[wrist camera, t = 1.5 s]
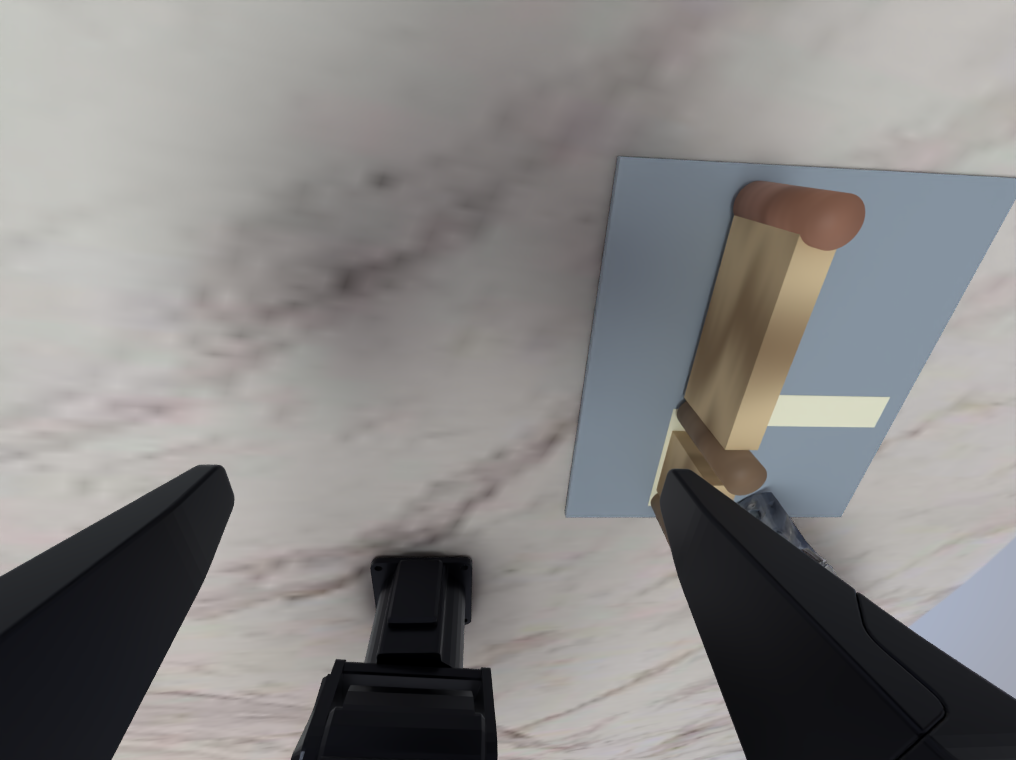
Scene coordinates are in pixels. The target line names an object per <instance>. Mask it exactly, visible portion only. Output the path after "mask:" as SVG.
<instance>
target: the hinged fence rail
mask: <svg viewBox="0 0 1016 760" xmlns="http://www.w3.org/2000/svg"><path fill="white" fill-rule="evenodd" d="M733 213H734V217H733V221H732V225H731V228H730V232H729V235H728V239H727V243H726V246H725V250H724V254H723V257H722V261H721V265H720V268H719V272H718V276H717V279H716V283H715V286H714V290H713V294H712V297H711V301H710V305H709V308H708V312H707V316H706V319H705V323H704V326H703V330H702V334H701V337H700V341H699V345H698V348H697V352H696V356H695V359H694V363H693V367H692V370H691V374H690V377H689V381H688V385H687V388H686V392H685V396H684V398H685V400H686V402H684V403H683V404H682V405H681V406H680V407H679V409H678V411H677V419H678V421H679V422H680V424H681V425H682V427H683V428H684V429H685V431H686V432H687V434H688V435H689V437H690V438H691V439H692V441H693V442H694V444H695V445H696V447H697V448H698V449H699V451H700V452H701V454H702V455H703V457H704V458H705V460H706V461H707V462H708V464H709V465H710V467H711V468H712V470H713V471H714V472H715V474H716V475H717V477H718V478H719V480H720V481H721V482H722V484H723V485H724V487H725V488H726V490H727V491H728V492H729V493H731V494H733V495H739V496H741V495H747V494H750V493H753V492H755V491H756V490H758V489H759V488H760V487H761V486H762V485H763V484H764V483H765V481H766V478H767V471H766V469H765V468H764V467H763V465H762V464H761V463H760V462H759V461H758V460H757V458H756V457H755V456H754V455H753V454H752V453H751V451H750V450H758V449H759V446H760V443H761V441H762V438H763V436H764V433H765V431H766V428H767V426H768V423H769V421H770V418H771V415H772V413H773V410H774V408H775V405H776V403H777V400H778V398H779V395H780V392H781V390H782V387H783V385H784V382H785V380H786V377H787V375H788V372H789V369H790V367H791V364H792V362H793V359H794V357H795V354H796V352H797V349H798V346H799V344H800V341H801V339H802V336H803V334H804V331H805V329H806V326H807V323H808V321H809V318H810V316H811V313H812V311H813V308H814V306H815V303H816V300H817V298H818V295H819V293H820V290H821V288H822V285H823V283H824V280H825V278H826V275H827V272H828V270H829V267H830V265H831V262H832V260H833V257H834V255H835V252H836V249H838V248H841V247H842V246H844V245H846V244H847V243H849V242H850V241H851V240H852V239H853V238H854V237H855V236H856V235H857V233H858V232H859V230H860V229H861V227H862V225H863V222H864V219H865V205H864V203H863V201H862V200H861V198H860V197H858V196H857V195H855V194H852V193H845V192H838V191H831V190H824V189H817V188H810V187H803V186H796V185H789V184H782V183H775V182H768V181H754V182H752V183H749V184H748V185H746V186H745V187H744V188H743V189H742V190H741V191H740V192H739V193H738V195H737V197H736V199H735V201H734V205H733Z"/></svg>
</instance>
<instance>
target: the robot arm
mask: <svg viewBox="0 0 1016 760" xmlns="http://www.w3.org/2000/svg"><path fill="white" fill-rule="evenodd" d="M233 506H234V493H233V490H232V488H231V485H230V482H229V479H228V476H227V473H226V471H225V469H224V468H223V467H222V466H221V465H198V466H195V467H193V468H192V469H190V470H188V471H186V472H185V473H183V474H181V475H179V476H178V477H176V478H174V479H172V480H170V481H169V482H167V483H165V484H163V485H162V486H160V487H158V488H156V489H155V490H153V491H151V492H149V493H147V494H146V495H144V496H142V497H140V498H139V499H137V500H135V501H133V502H131V503H130V504H128V505H126V506H124V507H123V508H121V509H119V510H117V511H116V512H114V513H112V514H110V515H108V516H107V517H105V518H103V519H101V520H100V521H98V522H96V523H94V524H93V525H91V526H89V527H87V528H85V529H84V530H82V531H80V532H78V533H77V534H75V535H73V536H71V537H70V538H68V539H66V540H64V541H62V542H61V543H59V544H57V545H55V546H54V547H52V548H50V549H48V550H46V551H45V552H43V553H41V554H39V555H38V556H36V557H34V558H32V559H31V560H29V561H27V562H25V563H23V564H22V565H20V566H18V567H16V568H15V569H13V570H11V571H9V572H8V573H6V574H4V575H2V576H0V760H112V758H113V756H114V754H115V752H116V750H117V748H118V746H119V744H120V742H121V740H122V738H123V736H124V734H125V733H126V731H127V729H128V727H129V725H130V723H131V721H132V719H133V717H134V715H135V713H136V711H137V709H138V708H139V706H140V704H141V702H142V700H143V698H144V696H145V694H146V692H147V690H148V688H149V686H150V684H151V682H152V681H153V679H154V677H155V675H156V673H157V671H158V669H159V667H160V665H161V663H162V661H163V659H164V657H165V655H166V654H167V652H168V650H169V648H170V646H171V644H172V642H173V640H174V638H175V636H176V634H177V632H178V630H179V628H180V627H181V625H182V623H183V621H184V619H185V617H186V615H187V613H188V611H189V609H190V607H191V605H192V603H193V601H194V600H195V598H196V596H197V594H198V592H199V590H200V588H201V586H202V584H203V582H204V579H205V577H206V575H207V572H208V570H209V568H210V565H211V563H212V560H213V558H214V555H215V553H216V550H217V547H218V545H219V542H220V540H221V537H222V535H223V532H224V530H225V527H226V524H227V522H228V519H229V517H230V514H231V512H232V509H233ZM660 509H661V513H662V517H663V521H664V525H665V529H666V533H667V537H668V540H669V544H670V548H671V552H672V556H673V560H674V564H675V567H676V571H677V574H678V578H679V580H680V583H681V586H682V589H683V592H684V594H685V597H686V600H687V602H688V605H689V608H690V610H691V613H692V616H693V618H694V621H695V624H696V626H697V629H698V632H699V634H700V637H701V639H702V642H703V645H704V647H705V650H706V653H707V655H708V658H709V661H710V663H711V666H712V669H713V671H714V674H715V677H716V679H717V682H718V685H719V687H720V690H721V693H722V695H723V698H724V701H725V703H726V706H727V709H728V711H729V714H730V716H731V719H732V722H733V724H734V727H735V730H736V732H737V735H738V738H739V740H740V743H741V746H742V748H743V751H744V754H745V756H746V759H747V760H1016V699H1015V698H1013V697H1012V696H1010V695H1009V694H1007V693H1006V692H1004V691H1003V690H1001V689H1000V688H998V687H997V686H995V685H993V684H992V683H990V682H989V681H987V680H986V679H984V678H983V677H981V676H979V675H978V674H977V673H975V672H973V671H972V670H970V669H969V668H967V667H966V666H964V665H963V664H961V663H960V662H958V661H957V660H955V659H954V658H952V657H951V656H949V655H948V654H946V653H945V652H943V651H942V650H940V649H939V648H937V647H936V646H934V645H933V644H931V643H930V642H928V641H926V640H925V639H924V638H922V637H921V636H919V635H918V634H916V633H915V632H914V631H912V630H911V629H909V628H908V627H907V626H905V625H904V624H902V623H901V622H900V621H898V620H897V619H895V618H894V617H893V616H891V615H890V614H888V613H887V612H885V611H884V610H883V609H881V608H880V607H878V606H877V605H876V604H874V603H873V602H872V601H870V600H869V599H868V598H866V597H865V596H863V595H862V594H861V593H856V591H855V589H854V588H852V587H851V586H850V585H848V584H847V583H845V582H844V581H843V580H841V579H840V578H839V577H837V576H836V575H835V574H833V573H832V572H830V571H829V570H828V569H826V568H825V567H824V566H822V565H821V564H819V563H818V562H817V561H815V560H814V559H813V558H811V557H810V556H808V555H807V554H806V553H804V552H803V551H802V550H800V549H799V548H798V547H796V546H795V545H793V544H792V543H791V542H789V541H788V540H787V539H785V538H784V537H782V536H781V535H780V534H778V533H777V532H776V531H774V530H773V529H772V528H770V527H769V526H767V525H766V524H765V523H763V522H762V521H761V520H759V519H758V518H756V517H755V516H754V515H752V514H751V513H750V512H748V511H747V510H746V509H744V508H743V507H741V506H740V505H739V504H737V503H736V502H735V501H733V500H732V499H730V498H729V497H728V496H726V495H725V494H724V493H722V492H721V491H719V490H718V489H717V488H715V487H714V486H713V485H711V484H710V483H709V482H707V481H706V480H704V479H703V478H702V477H700V476H699V475H698V474H696V473H695V472H693V471H692V470H690V469H670V470H669V471H668V473H667V476H666V479H665V482H664V486H663V489H662V492H661V496H660ZM370 569H371V576H372V583H373V590H374V597H375V604H376V613H375V618H374V622H373V626H372V631H371V635H370V640H369V644H368V649H367V653H366V657H365V662H364V663H361V662H346V660H341V659H336V661H335V663H334V666H333V669H332V672H331V674H328V675H327V676H326V677H324V678H323V679H322V683H321V686H320V689H319V693H318V696H317V699H316V703H315V706H314V709H313V711H312V714H311V716H310V718H309V720H308V723H307V725H306V727H305V729H304V731H303V733H302V735H301V737H300V739H299V742H298V744H297V746H296V748H295V750H294V752H293V754H292V757H291V760H497V757H498V752H497V731H496V721H495V710H494V699H493V688H492V678H491V668H483V667H481V669H469V668H463V650H464V625H466V624H469V623H470V622H471V596H472V561H471V559H469V558H466V557H439V558H376V559H374V560H373V561H372V564H371V568H370Z"/></svg>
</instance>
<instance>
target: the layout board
mask: <svg viewBox="0 0 1016 760" xmlns="http://www.w3.org/2000/svg"><path fill="white" fill-rule="evenodd" d="M754 181H768V182H775V183H782V184H789V185H796V186H803V187H810V188H817V189H824V190H831V191H838V192H845V193H852V194H855V195H857V196H858V197H860V198H861V200H862V201H863V203H864V205H865V219H864V222H863V225H862V227H861V229H860V230H859V232H858V233H857V235H856V236H855V237H854V238H853V239H852V240H851V241H850V242H849V243H847V244H846V245H844V246H842V247H841V248H838V249H836V252H835V255H834V257H833V260H832V262H831V265H830V267H829V270H828V272H827V275H826V278H825V280H824V283H823V285H822V288H821V290H820V293H819V295H818V298H817V300H816V303H815V306H814V308H813V311H812V313H811V316H810V318H809V321H808V323H807V326H806V329H805V331H804V334H803V336H802V339H801V341H800V344H799V346H798V349H797V352H796V354H795V357H794V359H793V362H792V364H791V367H790V369H789V372H788V375H787V377H786V380H785V382H784V385H783V387H782V390H781V392H780V395H779V398H778V400H777V403H776V405H775V408H774V410H773V413H772V415H771V418H770V421H769V423H768V426H767V428H766V431H765V433H764V436H763V438H762V441H761V443H760V446H759V449H758V450H750V451H751V453H752V454H753V455H754V456H755V457H756V458H757V460H758V461H759V462H760V463H761V464H762V465H763V467H764V468H765V469H766V471H767V478H766V481H765V483H764V484H763V485H762V486H761V487H760V488H759V489H758V490H756V491H755V492H753V493H750V494H747V495H741V496H739V495H735V497H734V500H733V501H735V502H736V503H737V504H738V503H739V502H741V501H743V500H744V499H746V498H748V497H750V496H753V495H756V494H759V493H766V492H772V493H773V495H774V496H775V497H776V499H777V500H778V501H779V503H780V504H781V506H782V507H783V508H784V510H785V511H786V513H787V514H788V516H789V517H841V516H842V514H843V512H844V510H845V509H846V507H847V505H848V503H849V501H850V499H851V498H852V496H853V494H854V492H855V490H856V489H857V487H858V485H859V483H860V481H861V479H862V478H863V476H864V474H865V472H866V470H867V469H868V467H869V465H870V463H871V461H872V459H873V458H874V456H875V454H876V452H877V450H878V449H879V447H880V445H881V443H882V441H883V439H884V438H885V436H886V434H887V432H888V430H889V429H890V427H891V425H892V423H893V421H894V419H895V418H896V416H897V414H898V412H899V410H900V409H901V407H902V405H903V403H904V401H905V399H906V398H907V396H908V394H909V392H910V390H911V389H912V387H913V385H914V383H915V381H916V379H917V378H918V376H919V374H920V372H921V370H922V368H923V367H924V365H925V363H926V361H927V359H928V358H929V356H930V354H931V352H932V350H933V348H934V347H935V345H936V343H937V341H938V339H939V338H940V336H941V334H942V332H943V330H944V328H945V327H946V325H947V323H948V321H949V319H950V318H951V316H952V314H953V312H954V310H955V308H956V307H957V305H958V303H959V301H960V299H961V298H962V296H963V294H964V292H965V290H966V288H967V287H968V285H969V283H970V281H971V279H972V278H973V276H974V274H975V272H976V270H977V268H978V267H979V265H980V263H981V261H982V259H983V258H984V256H985V254H986V252H987V250H988V248H989V247H990V245H991V243H992V241H993V239H994V238H995V236H996V234H997V232H998V230H999V228H1000V227H1001V225H1002V223H1003V221H1004V219H1005V218H1006V216H1007V214H1008V212H1009V210H1010V208H1011V207H1012V205H1013V203H1014V201H1015V199H1016V178H1006V177H987V176H969V175H951V174H933V173H914V172H896V171H878V170H860V169H841V168H823V167H805V166H787V165H769V164H750V163H732V162H714V161H696V160H677V159H659V158H641V157H623V156H618V158H617V164H616V171H615V178H614V184H613V191H612V198H611V205H610V211H609V218H608V225H607V232H606V238H605V245H604V252H603V258H602V265H601V272H600V279H599V285H598V292H597V299H596V306H595V312H594V319H593V326H592V333H591V339H590V346H589V353H588V359H587V366H586V373H585V380H584V386H583V393H582V400H581V407H580V413H579V420H578V427H577V434H576V440H575V447H574V454H573V460H572V467H571V474H570V481H569V487H568V494H567V501H566V508H565V516H566V517H656V516H655V513H654V511H653V509H652V507H651V499H652V498H653V496H654V495H655V494H657V493H658V492H657V490H656V489H657V485H658V482H659V478H660V474H661V471H662V467H663V463H664V460H665V456H666V452H667V449H668V445H669V441H670V437H671V434H672V431H685V429H684V428H683V427H682V425H681V424H680V422H679V421H678V419H677V411H678V409H679V407H680V406H681V405H682V404H683V403H684V402H686V400H685V398H684V396H685V392H686V388H687V385H688V381H689V377H690V374H691V370H692V367H693V363H694V359H695V356H696V352H697V348H698V345H699V341H700V337H701V334H702V330H703V326H704V323H705V319H706V316H707V312H708V308H709V305H710V301H711V297H712V294H713V290H714V286H715V283H716V279H717V276H718V272H719V268H720V265H721V261H722V257H723V254H724V250H725V246H726V243H727V239H728V235H729V232H730V228H731V225H732V221H733V217H734V213H733V205H734V201H735V199H736V197H737V195H738V193H739V192H740V191H741V190H742V189H743V188H744V187H745V186H746V185H748V184H749V183H752V182H754Z"/></svg>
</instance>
